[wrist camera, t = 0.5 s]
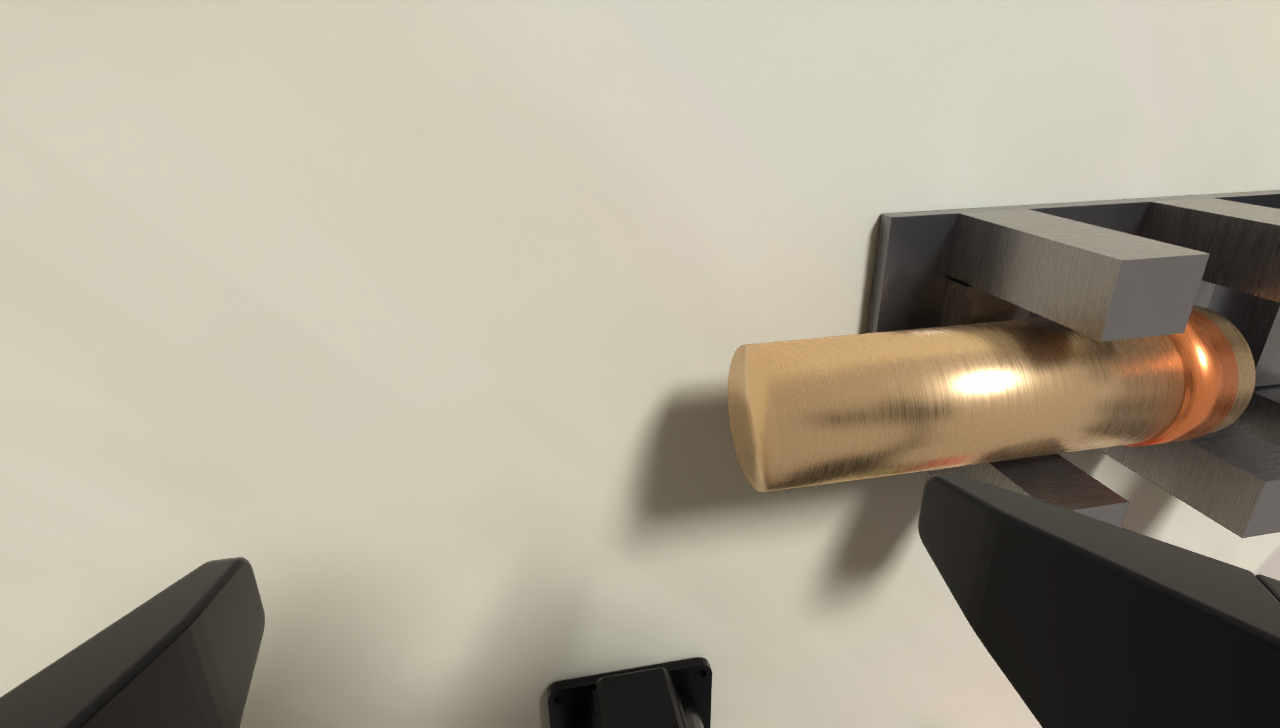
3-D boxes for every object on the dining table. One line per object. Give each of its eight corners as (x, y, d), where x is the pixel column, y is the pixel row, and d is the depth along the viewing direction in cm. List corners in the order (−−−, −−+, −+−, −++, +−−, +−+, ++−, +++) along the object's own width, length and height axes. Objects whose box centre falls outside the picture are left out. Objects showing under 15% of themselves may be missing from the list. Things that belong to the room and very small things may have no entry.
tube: (1110, 401, 23) (1229, 464, 19) (724, 446, 21) (774, 528, 17) (1144, 284, 21) (1282, 328, 18) (729, 319, 19) (785, 379, 15)
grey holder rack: (1315, 402, 28) (1639, 530, 20) (850, 460, 24) (1020, 644, 16) (1409, 182, 24) (1850, 232, 16) (881, 213, 21) (1115, 296, 13)
